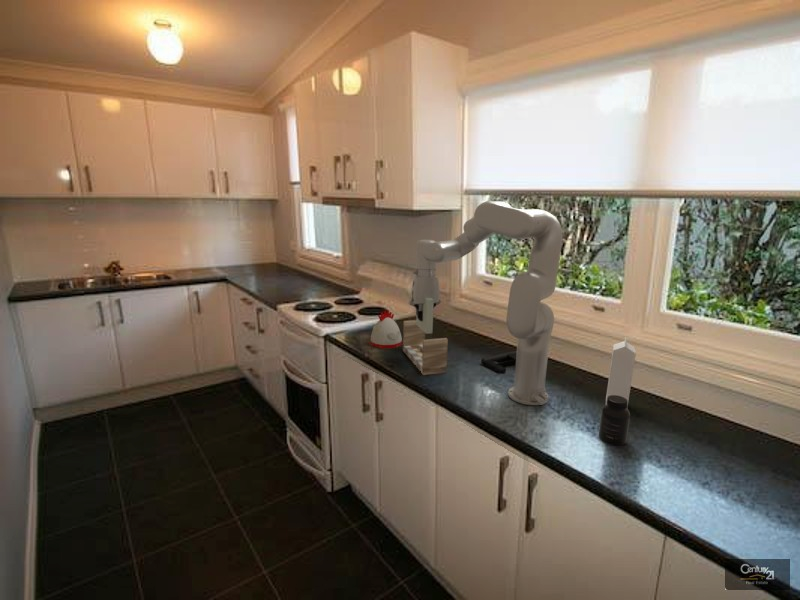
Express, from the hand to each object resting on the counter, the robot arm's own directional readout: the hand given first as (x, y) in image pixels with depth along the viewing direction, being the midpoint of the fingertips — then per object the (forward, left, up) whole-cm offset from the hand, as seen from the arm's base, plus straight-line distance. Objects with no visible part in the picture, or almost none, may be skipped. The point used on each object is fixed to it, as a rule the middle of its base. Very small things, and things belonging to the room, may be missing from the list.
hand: (424, 319), depth 164 cm
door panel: (0, 0, -4) cm, 4 cm away
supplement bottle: (-66, -31, -17) cm, 75 cm away
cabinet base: (0, 0, -17) cm, 17 cm away
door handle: (-13, -32, -18) cm, 38 cm away
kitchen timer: (+24, +9, -17) cm, 31 cm away
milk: (-50, -47, -17) cm, 71 cm away
